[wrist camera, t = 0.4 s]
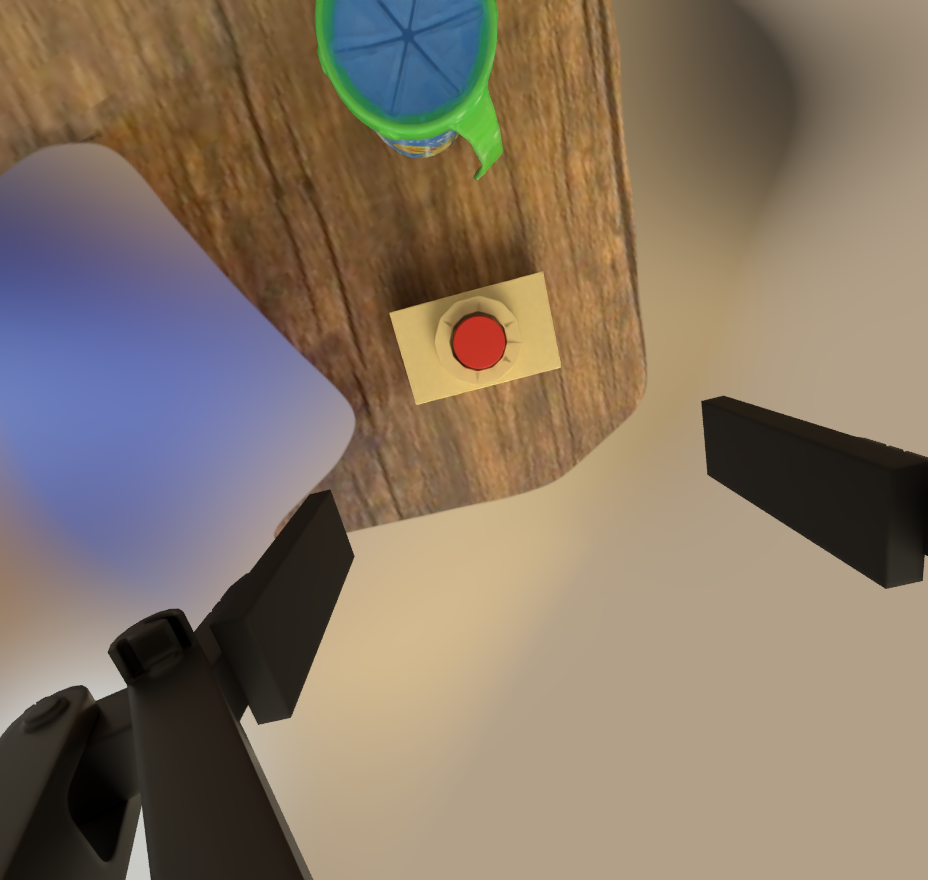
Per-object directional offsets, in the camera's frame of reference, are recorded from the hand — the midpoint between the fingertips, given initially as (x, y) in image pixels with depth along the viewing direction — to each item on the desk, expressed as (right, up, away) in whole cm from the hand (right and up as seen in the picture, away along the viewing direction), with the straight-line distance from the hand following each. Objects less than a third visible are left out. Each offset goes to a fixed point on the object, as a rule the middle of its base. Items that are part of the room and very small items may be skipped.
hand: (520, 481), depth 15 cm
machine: (-1, +11, +25) cm, 27 cm away
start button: (-1, +9, +20) cm, 22 cm away
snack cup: (-6, +28, +20) cm, 35 cm away
